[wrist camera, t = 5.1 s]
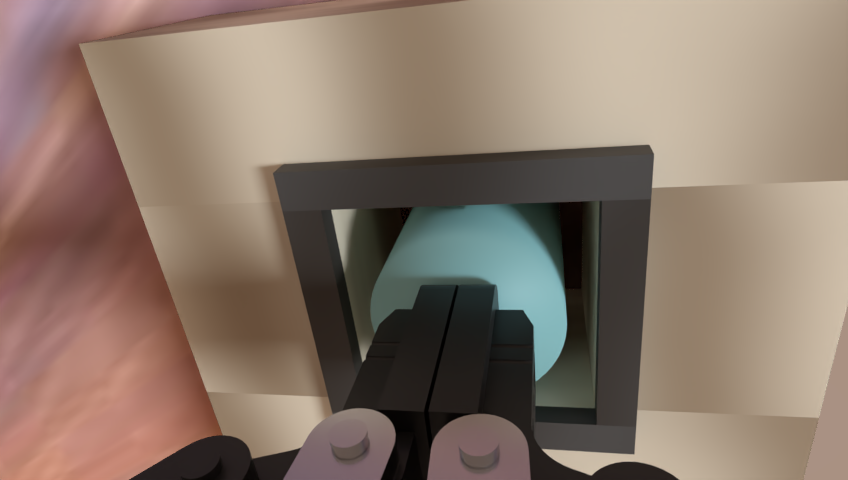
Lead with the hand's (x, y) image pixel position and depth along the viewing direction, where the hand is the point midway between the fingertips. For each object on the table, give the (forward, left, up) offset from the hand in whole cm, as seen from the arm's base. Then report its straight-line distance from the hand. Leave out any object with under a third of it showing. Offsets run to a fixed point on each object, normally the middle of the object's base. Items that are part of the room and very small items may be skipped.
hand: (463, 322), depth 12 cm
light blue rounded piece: (0, 0, -6) cm, 6 cm away
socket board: (0, +3, -6) cm, 6 cm away
